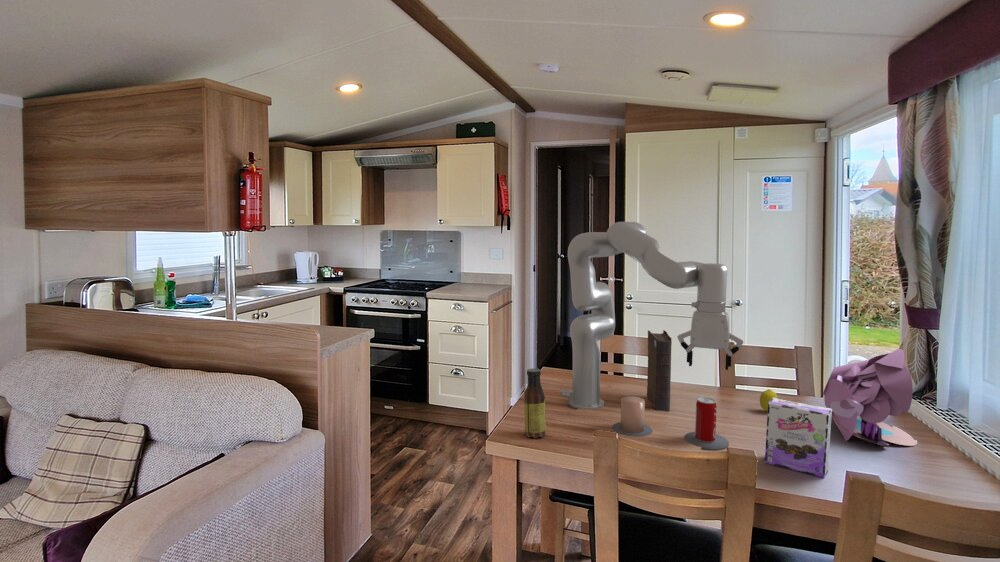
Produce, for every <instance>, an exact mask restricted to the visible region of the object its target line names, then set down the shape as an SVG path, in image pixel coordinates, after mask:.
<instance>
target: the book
mask: <svg viewBox="0 0 1000 562" xmlns="http://www.w3.org/2000/svg"><path fill="white" fill-rule="evenodd" d="M671 366H672V337H671V336H670V335H669V334H668V332H667V331H666V330H665V329H663V330H662V333H657V332H656V333H653V332H651V330H647V378H646V379H647V385H646V397H647V400H648V401H649V402H650V404H651V405H652V409H653V410H654V411H660V412H670V409H671V383H672V382H671V378H672V376H671V375H672V374H671V373H672V367H671Z"/></svg>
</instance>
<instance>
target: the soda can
mask: <svg viewBox="0 0 1000 562" xmlns="http://www.w3.org/2000/svg"><path fill="white" fill-rule="evenodd" d="M694 428H695V429H694V430H695V431H694V432H695V437H696V439H697V440H699V441H701V442H705V443H711V442H714V440H715V434H717V432H716V430H717V402H716V399H714V398H712V397H707V396H706V397H705V396H702V397H701V396H700V397H698V398H697V399H696V403H695V425H694Z"/></svg>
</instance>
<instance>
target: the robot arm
mask: <svg viewBox="0 0 1000 562" xmlns="http://www.w3.org/2000/svg"><path fill="white" fill-rule="evenodd" d="M659 248H660V244H659V241H658V240H657V239H655V238H654V237H652V236H650V235H649V234H647V229H646V228H645V227H644V226H643V225H642V224H641V223H639V222H636V221H617V222H614V223H613V224H611V225H610V226H609V227H608V228H607V230H606V231H605V232H604V231H603V232H602V231H599V232H597V231H593V232H591V231H589V232H584V233H580V234H577V235H576V236H574V238H572V239H571V241H570V243H569V245H568V248H567V260H568V265H569V273H570V289H571V299H572V305H573V307H574V308H575V309H576V310H578V311H580V312H587V311H591V313H587V314H583V315H579V316H578V317H575V318H574V319H572V322H571V323H570V326H569V333H570V338H571V346H572V376H571V377H572V380H571V381H572V383H571V384H572V385H571V386H572V388H571V389H569V390H567V389H561V390H560V395H561V397H562V398H568V399H567V405H568V404H569V405H570V406H569V405H568V406H569V407H571V408H573V409H576V410H578V409H583V410H595V409H600V408H602V407H604V406H605V401H604V400H603V399H601V351H600V348H599V346H598V341H601V340H606V339H608V338H610V337H612V335H613V334H614V332H615V329H616V313H615V311H616V310H615V301H614V300H615V299H614V293H613V291H612V289H611V287H610V286H609V285H608V284H607V283H605V282H603V281H597V279H596V270H595V269H596V268H595V266H594V264H593V262H592V261H591V259H592V258H606V257H612V256H616V255H619V254H622V253H624V254H625V255H627V256H628V257H630V258H631V259H632V260H634V261H637V262H638V263H639V264H641V267H642V268H643V269H644V271H645V272H646V273H647V274H648V276H650V277H651V278H652V279H654V280H657V282H659V283H661V284H663V285H664V286H666V287H668V288H670V289H674V290H679V289H685V288H694V287H697V291H696V292H697V294H696V295H697V297H696V301H694V302H691V308H695V310H694V311H693V314H692V319H691V326H690V330H688V331H685V332H683V333H681V334H678V335H677V339H678V342H679V343H680V346H681V347H682V348H683V349H684V350H685V352H686V363H688V366H689V367H692V365H693V357H694V356H693V354H694V353H693V349H694V348H699V349H710V350H711V349H712V350H724V352H725V353H726V354H725V367H724V368H725V370H726V371H729V368H730V367H732V356H733V355H735V354H736V353H737V352H738V351H739V350H740V348H742V345H743V344H744V341H743V339H741V338H739V337H738V336H736V335H734V334H732V333H731V332H730V317H729V313H728V312H726V306H727V305H726V302H727V284H728V268H727V266H726V265H725V264H722V263H704V262H699V261H695V260H694V261H690V260H689V261H688V260H687V261H678V262H677V261H674V260H673V259H671V258H669V257H668V256H666V255H665V254H663V253H661V252H660V250H659ZM688 337H689V339H690V343H689V344H687V342H686V341H685V339H686V338H688ZM730 340H731V341H733V342H735V343H736V344H735V346H733V347H732V348H731V347H730V346H729V345H730Z"/></svg>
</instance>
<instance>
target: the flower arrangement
mask: <svg viewBox="0 0 1000 562" xmlns="http://www.w3.org/2000/svg"><path fill="white" fill-rule="evenodd" d="M913 390H914V389H913V380H912V376H911V373H910V370H909V369H908V368H907V367H906V365H905V353H904V350H903V349H902V348H897V349H895V350H893V351H892V352H887V353H884V354H879V355H876V356H873V357H872V358H870V359H865V360H861V361H856V362H851V363H849V364H844V365H839V366H835V367H833V369H832V371H831V374H830V375H829V378H828V380H827V382H826V385H825V386H824V389H823V393H822V395H823V396H824V398H823V401H824V406H825V408H831V409H832V417H831V419H833V422H834V424H835V425H836V426H837V429H839V431H840V433H841V435H842V437H843V438H844V439H845V441H846V442H847V441H849V440H850V438H851V437H852V436H854V437H857V438H859V439H862V440H863V441H867V442H870V443H873V444H875V445H876V444H877V445H880V446H882V447H885V446H890V444H889V443H893V444H896V445H900V446H909V447H912V446H916V445H917V444H918V440H917V439H914V438H913V436H911V435H910V434H909V433H907V432H906V431H904V430H902V429H901V428H899V427H897V426H895V425H892V426H891V425H889V424H887V423H885V422H884V421H885V420H886V419H887V418H888V417H889V416H891V417H898V416H900V415H901V414H902V413H904V414H905V415H907V414H908V412H909V411H910V409H911V405H912V401H913V393H914V392H913ZM887 442H889V443H887Z"/></svg>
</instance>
